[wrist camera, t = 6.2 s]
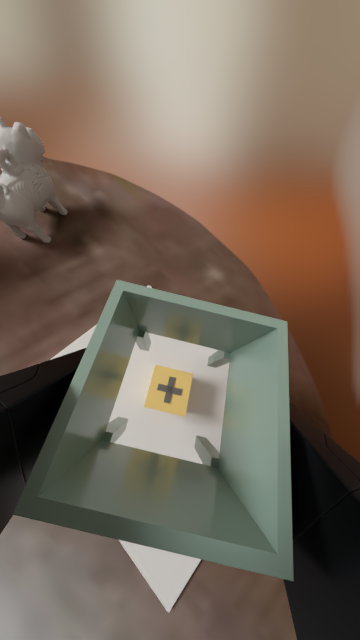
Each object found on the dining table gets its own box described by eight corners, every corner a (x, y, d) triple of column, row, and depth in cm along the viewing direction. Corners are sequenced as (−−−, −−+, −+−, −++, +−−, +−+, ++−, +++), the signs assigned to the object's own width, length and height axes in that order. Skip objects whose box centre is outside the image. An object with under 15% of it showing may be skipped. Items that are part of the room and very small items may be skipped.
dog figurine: (77, 197, 32) (38, 110, 22) (48, 249, 27) (-19, 168, 17) (47, 192, 31) (-5, 102, 22) (13, 243, 26) (-75, 158, 17)
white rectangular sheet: (285, 416, 21) (287, 416, 21) (168, 607, 15) (168, 613, 14) (149, 286, 26) (149, 285, 26) (16, 386, 19) (13, 386, 19)
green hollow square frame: (204, 449, 13) (293, 581, 4) (114, 428, 13) (12, 514, 4) (217, 358, 16) (287, 321, 7) (142, 340, 16) (116, 279, 7)
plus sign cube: (180, 411, 20) (185, 417, 16) (147, 403, 20) (143, 407, 16) (187, 376, 21) (193, 373, 17) (156, 368, 21) (155, 364, 17)
